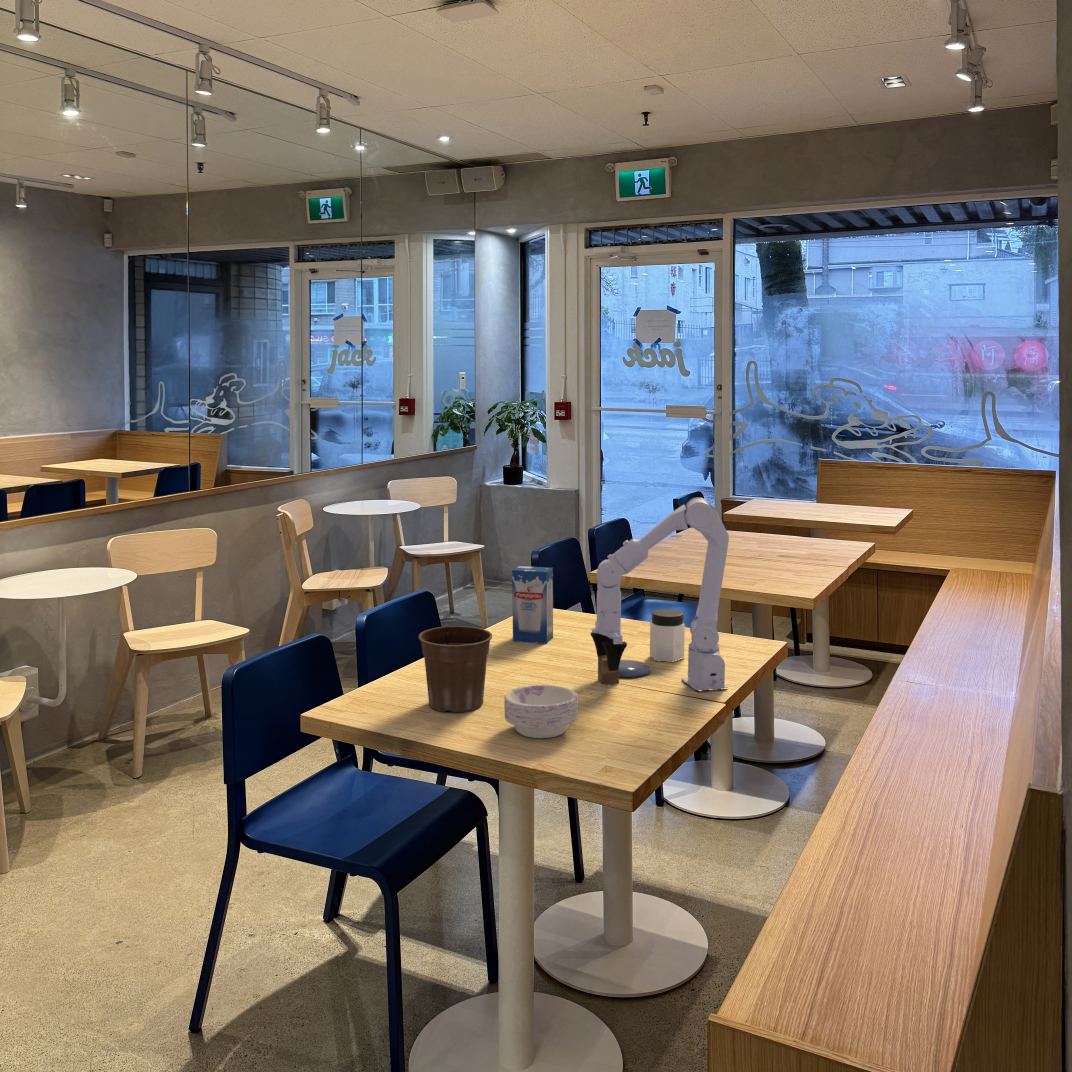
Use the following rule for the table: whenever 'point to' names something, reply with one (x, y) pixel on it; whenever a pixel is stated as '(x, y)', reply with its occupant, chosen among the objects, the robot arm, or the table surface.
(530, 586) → the milk carton
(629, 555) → the robot arm
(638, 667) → the blue-grey round disc
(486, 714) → the table surface
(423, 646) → the plant pot
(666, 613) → the jar
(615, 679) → the walnut block
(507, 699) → the paper bowls
